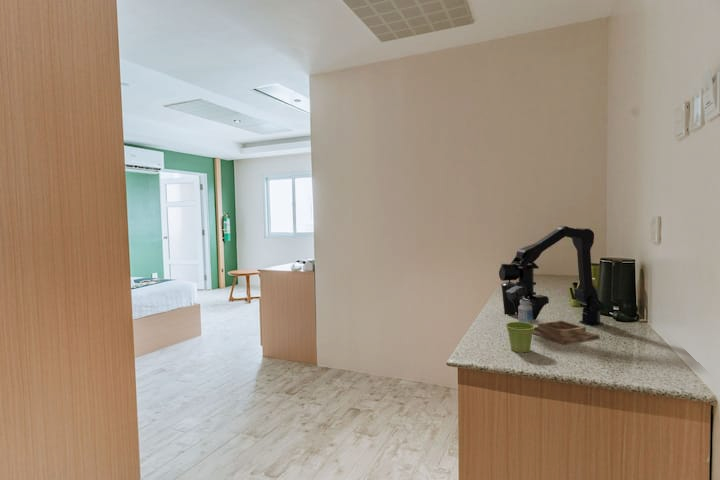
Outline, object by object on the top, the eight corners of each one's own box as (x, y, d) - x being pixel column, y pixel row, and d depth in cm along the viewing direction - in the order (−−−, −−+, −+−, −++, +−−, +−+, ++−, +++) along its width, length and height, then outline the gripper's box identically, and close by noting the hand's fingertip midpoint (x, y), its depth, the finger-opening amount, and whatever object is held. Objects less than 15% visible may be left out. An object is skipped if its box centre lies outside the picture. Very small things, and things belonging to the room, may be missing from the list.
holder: (560, 325, 171) (560, 317, 170) (599, 337, 154) (599, 328, 154) (525, 331, 164) (525, 322, 164) (562, 344, 147) (562, 335, 147)
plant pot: (532, 356, 137) (532, 330, 136) (503, 352, 142) (502, 327, 141) (537, 348, 145) (537, 323, 144) (509, 344, 150) (509, 320, 149)
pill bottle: (533, 325, 173) (533, 298, 172) (535, 329, 167) (535, 301, 166) (517, 324, 174) (517, 298, 174) (519, 328, 168) (518, 301, 168)
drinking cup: (500, 315, 190) (500, 272, 189) (501, 311, 197) (501, 269, 196) (518, 316, 187) (518, 272, 186) (518, 312, 194) (518, 270, 193)
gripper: (494, 278, 175) (495, 314, 176) (527, 284, 158) (527, 325, 159) (515, 275, 179) (516, 311, 180) (549, 282, 162) (549, 321, 163)
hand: (526, 317), depth 170 cm, fingers open, 9 cm apart
